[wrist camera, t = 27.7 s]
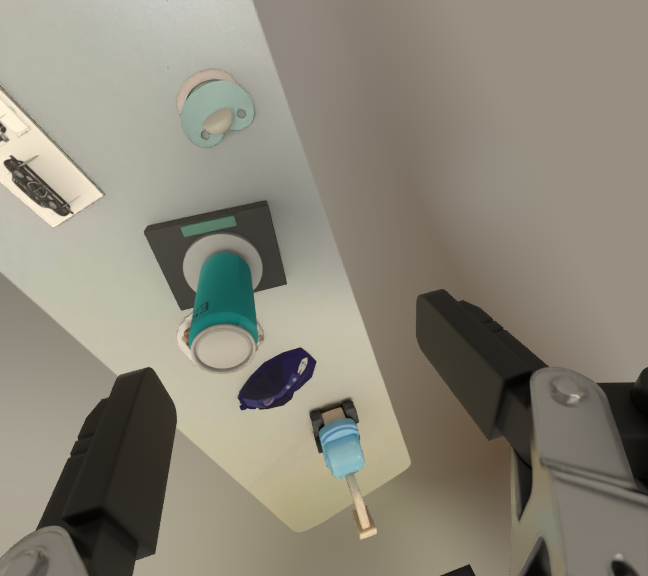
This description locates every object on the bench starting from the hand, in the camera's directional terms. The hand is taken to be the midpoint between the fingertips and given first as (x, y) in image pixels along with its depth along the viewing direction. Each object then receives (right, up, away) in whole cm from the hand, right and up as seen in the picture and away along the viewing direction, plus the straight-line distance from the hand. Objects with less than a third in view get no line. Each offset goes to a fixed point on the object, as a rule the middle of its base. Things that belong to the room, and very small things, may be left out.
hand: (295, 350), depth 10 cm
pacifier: (-11, +21, +23) cm, 33 cm away
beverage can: (-11, +4, +29) cm, 32 cm away
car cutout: (-29, +16, +21) cm, 39 cm away
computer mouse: (-7, -14, +45) cm, 48 cm away
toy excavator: (+3, -26, +55) cm, 61 cm away
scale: (-12, +6, +31) cm, 34 cm away
